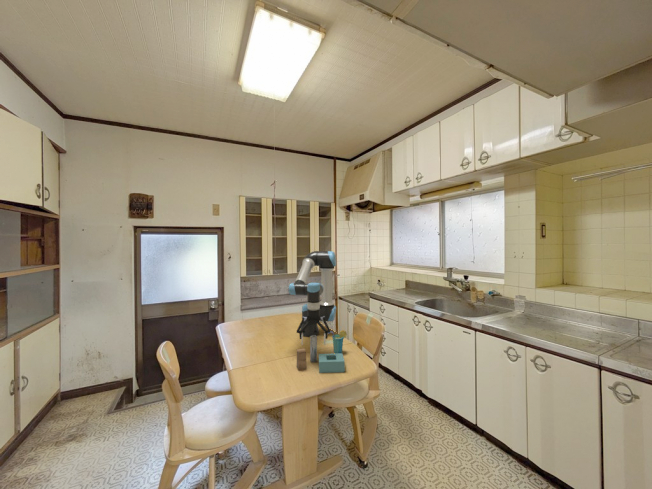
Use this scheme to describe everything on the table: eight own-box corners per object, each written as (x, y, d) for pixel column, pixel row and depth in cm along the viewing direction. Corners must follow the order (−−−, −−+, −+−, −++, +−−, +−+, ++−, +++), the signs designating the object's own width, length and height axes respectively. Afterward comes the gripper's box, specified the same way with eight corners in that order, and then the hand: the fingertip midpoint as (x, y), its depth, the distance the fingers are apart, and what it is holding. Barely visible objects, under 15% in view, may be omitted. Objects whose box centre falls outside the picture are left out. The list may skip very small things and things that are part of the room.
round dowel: (310, 359, 154) (310, 335, 154) (316, 359, 154) (316, 334, 154) (310, 362, 150) (310, 337, 150) (317, 362, 150) (317, 337, 150)
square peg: (296, 366, 145) (296, 349, 145) (304, 365, 146) (304, 348, 146) (298, 370, 141) (298, 352, 141) (306, 369, 142) (306, 351, 142)
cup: (330, 357, 156) (330, 333, 156) (324, 353, 163) (324, 330, 162) (349, 353, 163) (349, 329, 163) (342, 348, 170) (342, 326, 169)
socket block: (318, 364, 148) (318, 353, 148) (342, 363, 149) (342, 353, 149) (319, 372, 138) (319, 362, 138) (344, 372, 139) (344, 361, 139)
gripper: (292, 310, 147) (292, 346, 147) (334, 310, 148) (334, 346, 148) (293, 307, 155) (293, 342, 154) (333, 307, 156) (333, 341, 156)
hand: (313, 344), depth 151 cm, fingers open, 13 cm apart
